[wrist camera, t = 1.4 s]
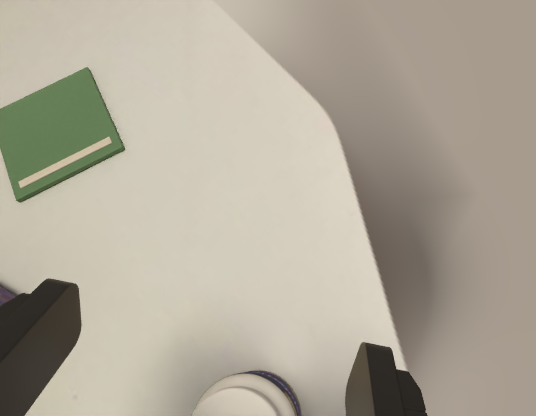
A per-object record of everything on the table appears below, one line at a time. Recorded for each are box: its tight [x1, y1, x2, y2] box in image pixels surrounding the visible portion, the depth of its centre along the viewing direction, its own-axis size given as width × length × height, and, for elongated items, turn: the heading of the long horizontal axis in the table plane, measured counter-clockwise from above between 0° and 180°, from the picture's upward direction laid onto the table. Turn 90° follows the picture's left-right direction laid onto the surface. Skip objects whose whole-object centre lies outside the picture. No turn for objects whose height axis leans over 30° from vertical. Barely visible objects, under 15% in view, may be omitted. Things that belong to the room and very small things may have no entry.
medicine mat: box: [0, 67, 125, 202], centre depth 37 cm, size 10×10×1 cm
